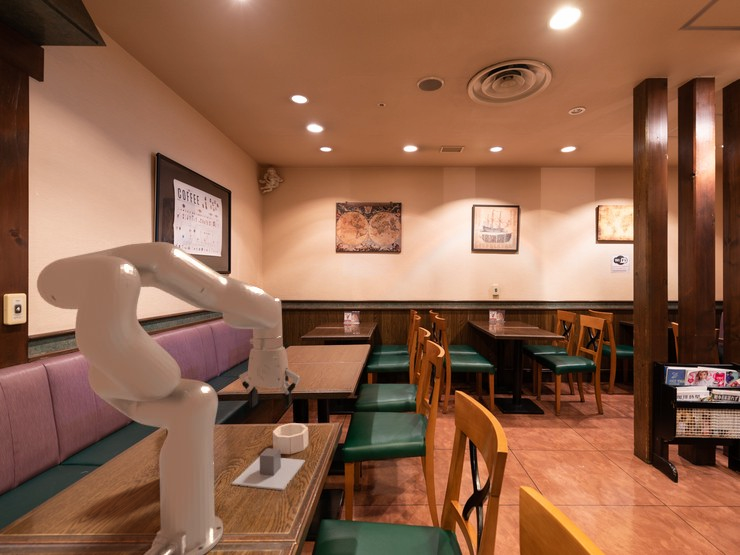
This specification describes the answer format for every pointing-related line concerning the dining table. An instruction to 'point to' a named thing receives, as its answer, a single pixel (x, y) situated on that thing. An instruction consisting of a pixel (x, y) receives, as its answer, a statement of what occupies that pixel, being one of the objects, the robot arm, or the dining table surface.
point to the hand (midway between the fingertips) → (270, 406)
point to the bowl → (290, 438)
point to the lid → (269, 471)
